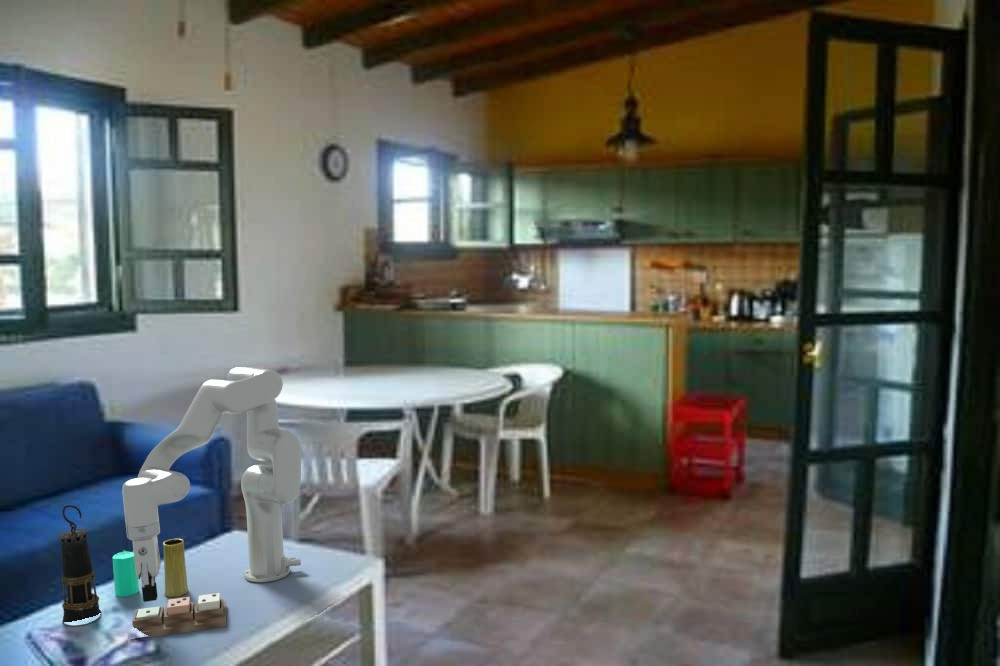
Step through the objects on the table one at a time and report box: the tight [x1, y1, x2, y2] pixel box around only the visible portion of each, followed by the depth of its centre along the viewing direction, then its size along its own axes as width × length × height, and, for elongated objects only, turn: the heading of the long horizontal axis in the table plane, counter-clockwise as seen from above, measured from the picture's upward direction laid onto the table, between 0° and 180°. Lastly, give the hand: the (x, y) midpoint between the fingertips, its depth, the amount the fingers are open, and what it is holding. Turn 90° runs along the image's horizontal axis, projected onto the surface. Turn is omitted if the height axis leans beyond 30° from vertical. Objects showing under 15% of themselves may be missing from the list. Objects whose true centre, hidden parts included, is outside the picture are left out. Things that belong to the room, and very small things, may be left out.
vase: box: [162, 538, 189, 598], centre depth 238 cm, size 6×6×14 cm
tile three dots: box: [166, 596, 191, 615], centre depth 220 cm, size 5×5×3 cm
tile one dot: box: [136, 605, 161, 620], centre depth 218 cm, size 5×5×3 cm
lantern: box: [57, 504, 102, 623], centre depth 222 cm, size 9×9×30 cm
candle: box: [111, 550, 140, 598], centre depth 239 cm, size 6×6×12 cm
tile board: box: [131, 597, 227, 638], centre depth 220 cm, size 22×12×4 cm, turn 107°
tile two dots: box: [197, 592, 221, 611], centre depth 222 cm, size 5×5×3 cm
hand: (150, 599), depth 218 cm, fingers closed
